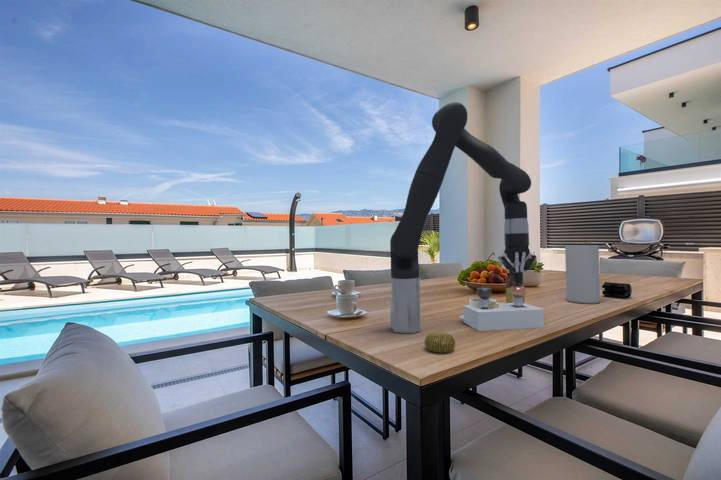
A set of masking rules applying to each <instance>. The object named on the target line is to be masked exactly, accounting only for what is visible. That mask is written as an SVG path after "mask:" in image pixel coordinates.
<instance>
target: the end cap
mask: <svg viewBox="0 0 721 480" xmlns="http://www.w3.org/2000/svg"><path fill="white" fill-rule="evenodd" d="M601 289H603V290H601V293H602V297H603V298H609V299H618V300H628V299H629V298H630V297H631V296H632V291H633V288H632V285H631V284H630V283H621V282H609V281H608V282H607V281H605V282H604V283H603V284H602V286H601Z"/></svg>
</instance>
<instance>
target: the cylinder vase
mask: <svg viewBox="0 0 721 480" xmlns="http://www.w3.org/2000/svg"><path fill="white" fill-rule="evenodd" d="M599 246H600V245H598V244H597V245H596V244H595V245H592V244H584V245H583V244H581V245H579V244H577V245H576V244H575V245H572V244H571V245H564V251H565V252H564V253H565V287H566V289H565V293H566V301H568V302H571V303H573V304H584V305H586V304H587V305H593V304H594V305H595V304H598V303H600V301H601V293H600V292H601V291H600V290H601V287H600V281H601V280H600V254H599V253H600V251H599V250H600V249H599V248H600V247H599Z"/></svg>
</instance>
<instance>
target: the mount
mask: <svg viewBox="0 0 721 480" xmlns="http://www.w3.org/2000/svg"><path fill="white" fill-rule="evenodd" d="M498 304H499V308H494V309H479V308H475V307H470V305H471V304H463V305H462V314H463V319H462V321H463V323H464V324H466V325H468V326H469V327H471V328H472V329H474V330H476V331H478V332H486V331H489V332H490V331H505V330H506V331H507V330H508V331H509V330H522V329H523V330H527V329H528V330H529V329H540V328H541V329H543V328H545V323H544V321H545V320H544V309H543V308H541V307H537V306H534V305H532V304H528V303H525V302H524V303H523V307H521V308H515V307H513V303H501V302H500V303H498Z"/></svg>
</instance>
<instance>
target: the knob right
mask: <svg viewBox="0 0 721 480" xmlns="http://www.w3.org/2000/svg"><path fill="white" fill-rule="evenodd" d="M510 291H511V295H513V307H515V308H521V307H523V295H524V296H526V287H525V286H524V287H521V286H512V287H510Z"/></svg>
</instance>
